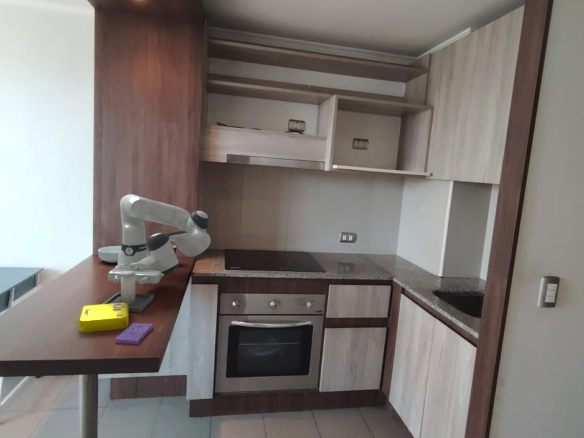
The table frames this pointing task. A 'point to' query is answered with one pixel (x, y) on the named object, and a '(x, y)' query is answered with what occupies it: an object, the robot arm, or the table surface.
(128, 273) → the tin
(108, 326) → the element tile
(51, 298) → the table surface
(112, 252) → the cereal bowl
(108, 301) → the tray
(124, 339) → the sponges
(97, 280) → the table surface
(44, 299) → the table surface
